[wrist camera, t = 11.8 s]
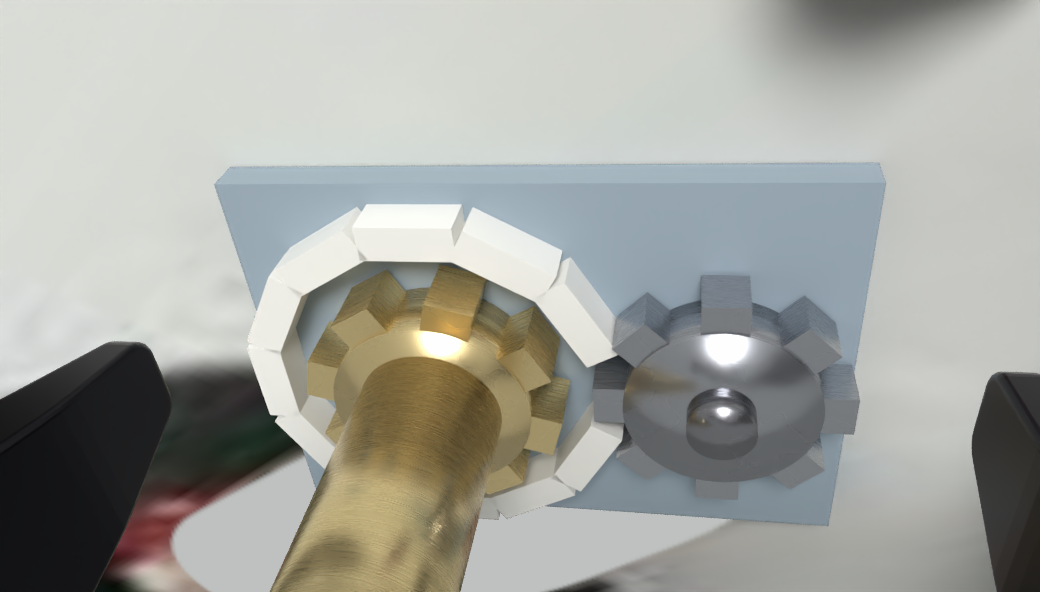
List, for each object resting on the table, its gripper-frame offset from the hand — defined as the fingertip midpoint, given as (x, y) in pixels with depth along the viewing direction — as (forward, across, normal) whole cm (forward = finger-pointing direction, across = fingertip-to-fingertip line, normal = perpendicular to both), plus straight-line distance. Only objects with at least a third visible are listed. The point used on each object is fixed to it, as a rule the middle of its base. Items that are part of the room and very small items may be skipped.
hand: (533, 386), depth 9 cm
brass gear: (+12, +5, +10) cm, 16 cm away
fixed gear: (+12, -2, +10) cm, 16 cm away
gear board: (+13, +2, +10) cm, 17 cm away
